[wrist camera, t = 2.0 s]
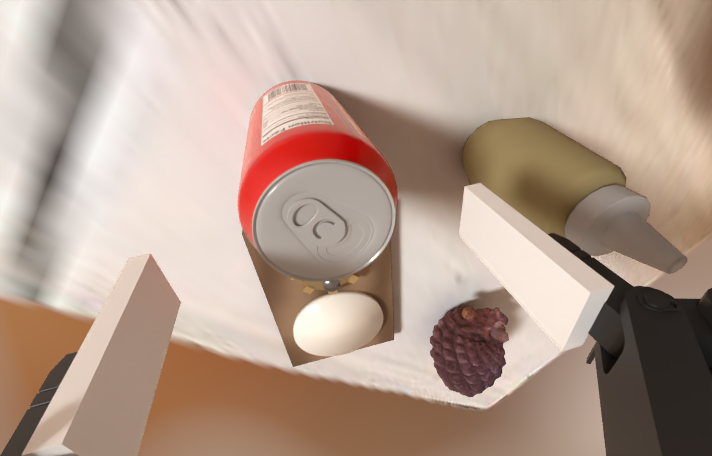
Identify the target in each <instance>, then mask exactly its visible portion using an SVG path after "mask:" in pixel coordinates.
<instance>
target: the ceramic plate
mask: <svg viewBox="0 0 712 456" xmlns="http://www.w3.org/2000/svg"><path fill="white" fill-rule="evenodd" d="M382 324H383V312H382V310H381V307H380V305H379V303H378V301H377V300H376V299H375V298H374V297H372V296H371V295H369V294H367V293H364V292H361V291H356V290H339V291H338V293H336V294H332V295H329V294H328V293H326V294H324V295H321V296H319V297H317V298H315V299H313V300H312V301H310V302H309V303H308V304H306V305H305V306H304V307H303V308H302V309H301V310H300V312H299V313H298V314H297V316H296V318H295V320H294V324H293V333H294V339H295V341H296V343H297V345H298V346H299V347H300V348H301V349H302V350H304V351H306V352H308V353H310V354H313V355H318V356H337V355H342V354H346V353H350V352H352V351H355V350H357V349H359V348H361V347H363V346H364V345H366V344H367V343H369V342H370V341H371V340H372V339H373V338H374V337H375V336H376V335H377V334H378V332H379V331H380V329H381V327H382Z"/></svg>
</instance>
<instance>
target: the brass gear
mask: <svg viewBox="0 0 712 456" xmlns="http://www.w3.org/2000/svg"><path fill="white" fill-rule="evenodd" d="M290 278H291V277H290ZM359 278H360V277H359V275H358V272H356V273H354V274H352V275H350V276H347V277H344V278H341V279H337V280H333V281H326V282H308V281H302V280H301V285H302V291H303V292H305V293H308V294H311V293H312V292H313V291H314V290H315V289H317V290H326V291H328V294H329V295H332V294H336V293H338V291H337V290H338V289H339V288H340V286H341V285H343V284H345V283H346V282H347V281H348V282H350V283H353V284H354V283H355V282H356V281H357V280H358V279H359ZM291 280H295V279H294V278H291Z"/></svg>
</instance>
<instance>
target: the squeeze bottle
mask: <svg viewBox="0 0 712 456" xmlns="http://www.w3.org/2000/svg"><path fill="white" fill-rule="evenodd" d="M462 162H463V165H464V169H465V171H466V174H467V176H468V179H469V181H470V184H471V185H473V184H477V183H481V184H482V185H484V186H485V187H486V188H488V189H489V190H490V191H492V192H493V193H494V194H495V195H497V196H498V197H499V198H501V199H502V200H503V201H504V202H506V203H507V204H508V205H510V206H511V207H512V208H514V209H515V210H516V211H517V212H519V213H520V214H521V215H523V216H524V217H525V218H527V219H528V220H529V221H530V222H532V223H533V224H534V225H536V226H537V227H538V228H540V229H541V230H542V231H543V232H545V233H546V234H550V233H555V234H557V235H560V236H562V237H564V238H567V239H569V240H570V241H572V242H573V243H574V244H576V245H577V246H578V247H580V248H581V250H584V251H585V252H587V253H588V254H589V255H592V256H600V255H604V254H608V253H610V252H612V251H616V252H618V253H621V254H623V255H625V256H628V257H630V258H632V259H635V260H637V261H639V262H642V263H644V264H647V265H649V266H651V267H654V268H656V269H658V270H661V271H663V272H665V273H668V274H670V273H674V272H676V271H677V270H679V269H680V268H682V266H684V265H685V264H686V262H687V257H686V256H684V255H683V254H682V253H681V252H680V251H679V250H678V249H677V248H675V247H674V246H673V245H672V244H671V243H670V242H669V241H668V240H666V239H665V238H664V237H663V236H662V235H661V234H660V233H659V232H657V231H656V230H655V229H654V228H653V227H652V226H651V225H650V224H648V223H647V222H646V220H647V218H648V216H649V210H650V204H649V202H648V200H647V198H646V197H644V196H642V195H640V194H638V193H636V192H634V191H632V190H630V189H628V188H626V187H625V184H626V177H625V175H624V173H623V171H622V170H621V168H620V167H618V166H617V165H615V164H613V163H612V162H610V161H608V160H606V159H605V158H603V157H601V156H600V155H598V154H596V153H595V152H593V151H591V150H589V149H588V148H586V147H584V146H583V145H581V144H579V143H577V142H576V141H574V140H572V139H571V138H569V137H567V136H566V135H564V134H562V133H560V132H559V131H557V130H555V129H554V128H552V127H550V126H548V125H547V124H545V123H543V122H541V121H538V120H535V119H532V118H530V117H528V118H515V119H501V120H494V121H489V122H487V123H485V124H483V125H482V126H480V127H478V128H477V129H476V130H475V131H474V132H473V134H472V135H471V136H470V137H469V138H468V140H467V142H466V144H465V146H464V148H463V155H462Z"/></svg>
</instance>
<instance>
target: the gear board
mask: <svg viewBox="0 0 712 456" xmlns="http://www.w3.org/2000/svg"><path fill="white" fill-rule="evenodd" d="M242 235H243V238H244V241H245V243H246V246H247V248H248V251H249V254H250V256H251V259H252V261H253V264H254V267H255V269H256V272H257V274H258V277H259V280H260V282H261V285H262V287H263V290H264V293H265V295H266V298H267V300H268V303H269V306H270V308H271V311H272V313H273V316H274V319H275V321H276V324H277V326H278V329H279V332H280V334H281V337H282V339H283V342H284V345H285V347H286V350H287V352H288V355H289V358H290V360H291V363H292V365H293V367H294V366H298V365H302V364H306V363H309V362H313V361H317V360H320V359H324V358H328V357H332V356H318V355H313V354H310V353H308V352H306V351H304V350H302V349H301V348H300V347H299V346H298V345H297V343H296V341H295V339H294V333H293V324H294V320H295V318H296V316H297V314H298V313H299V312H300V310H301V309H302V308H303V307H304V306H305V305H306V304H308V303H309V302H310V301H312V300H313V299H315V298H317V297H319V296H321V295H324V294H326V293H328V291H326V290H317V289H315V290H314V291H313V292H312V293H311V294H308V293H305V292H303V291H302V285H301V280H297V279H295V280H291V278H290V277H288V276H286V275H283V274H281V273H280V272H278V271H276V270H275V269H274V268H272V267H271V266H270V265H269V264H268V263H267V262H266V261H265V260H264V259H263V258H262V256H261V255H260V253H259V252H258V250H257V249H256V248H255V247H254V246H253V245H252V244H251V242H250V241H249V240H248V238H247V236H246V235H245V233H244V231H242ZM358 275H359V277H360V278H359V279H358V280H357V281H356V282H355V283H354V284H353V283H350V282H348V281H347V282H346V283H345V284H343V285H341V286H340V288H339V289H338V290H337V291H339V290H356V291H361V292H364V293H367V294H369V295H371V296H372V297H374V298H375V299H376V300H377V301H378V303H379V305H380V307H381V310H382V312H383V324H382V327H381V329H380V331H379V332H378V334H377V335H376V336H375V337H374V338H373V339H372V340H371V341H370V342H369V343H367V344H366V345H364V346H363V347H361V348H365V347H369V346H372V345H376V344H380V343H384V342H387V341H391V340H394V325H393V299H392V273H391V247H390V240H389V242H388V244H387V246H386V247H385V249H384V250H383V251H382V253H381V254H380V255H379V256H378V257H377V258H376V259H375V260H374V261H373V262H372V263H370V264H369V265H368V266H366V267H365V268H363V269H362V270H360V271H358ZM361 348H359V349H361ZM357 350H358V349H357Z"/></svg>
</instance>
